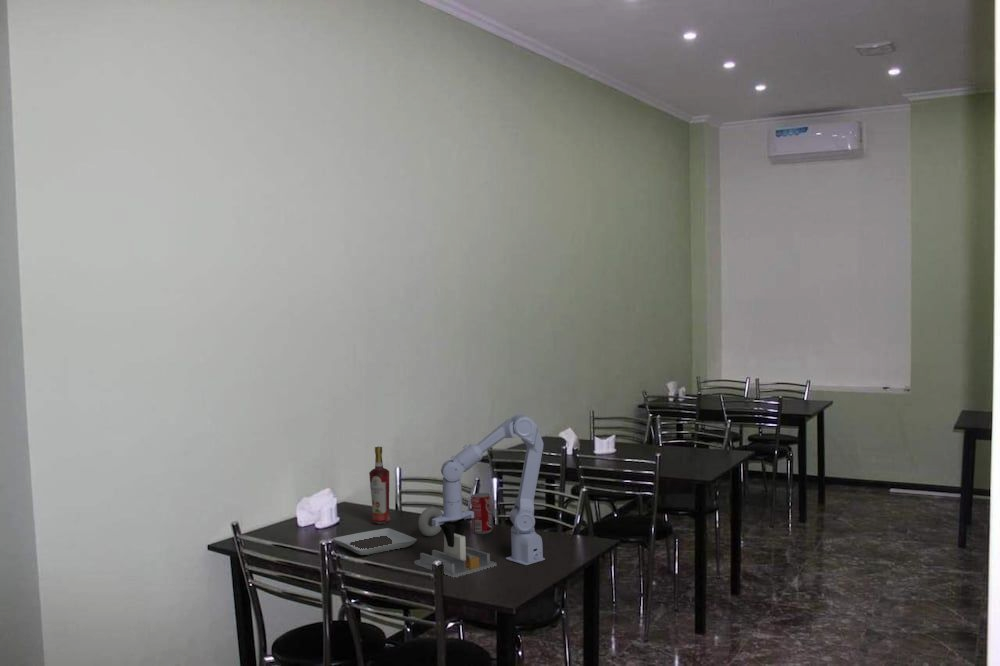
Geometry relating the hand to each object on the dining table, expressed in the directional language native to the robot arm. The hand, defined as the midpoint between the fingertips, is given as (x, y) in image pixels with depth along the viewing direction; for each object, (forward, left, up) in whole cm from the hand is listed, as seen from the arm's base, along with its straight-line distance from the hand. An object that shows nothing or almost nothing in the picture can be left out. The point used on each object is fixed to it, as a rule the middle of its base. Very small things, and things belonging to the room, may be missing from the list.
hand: (454, 545), depth 257 cm
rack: (0, 0, -6) cm, 6 cm away
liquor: (+62, -13, -6) cm, 64 cm away
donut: (+33, -15, -6) cm, 37 cm away
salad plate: (+36, +6, -7) cm, 37 cm away
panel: (0, 0, -4) cm, 4 cm away
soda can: (+24, -30, -6) cm, 39 cm away
